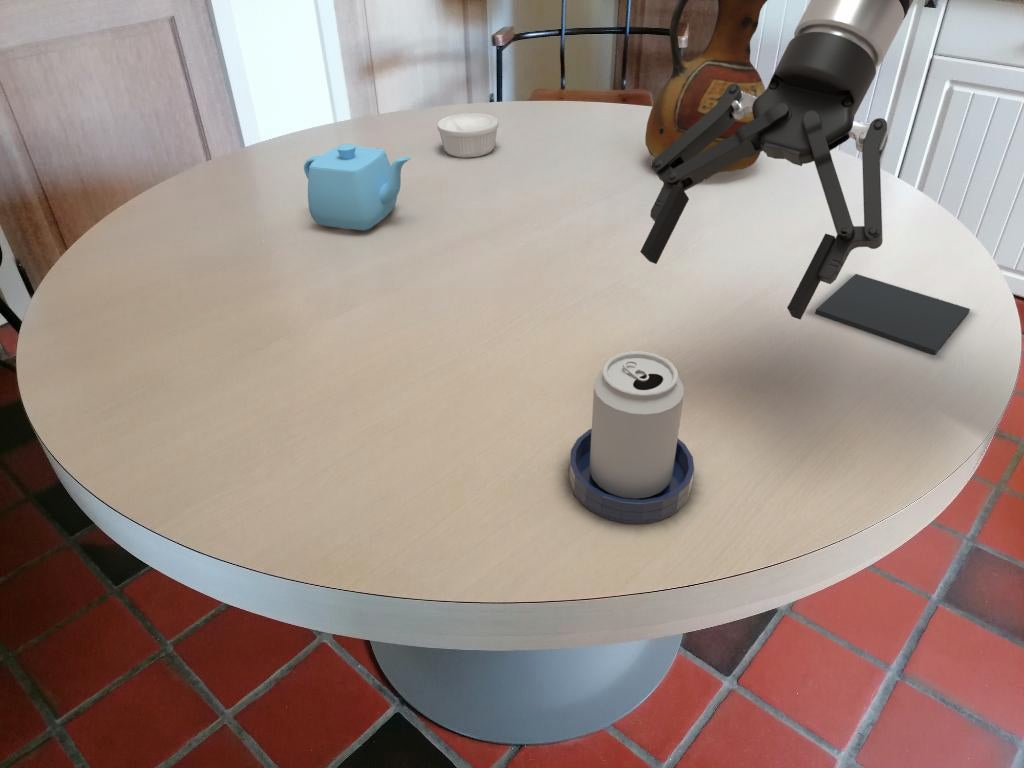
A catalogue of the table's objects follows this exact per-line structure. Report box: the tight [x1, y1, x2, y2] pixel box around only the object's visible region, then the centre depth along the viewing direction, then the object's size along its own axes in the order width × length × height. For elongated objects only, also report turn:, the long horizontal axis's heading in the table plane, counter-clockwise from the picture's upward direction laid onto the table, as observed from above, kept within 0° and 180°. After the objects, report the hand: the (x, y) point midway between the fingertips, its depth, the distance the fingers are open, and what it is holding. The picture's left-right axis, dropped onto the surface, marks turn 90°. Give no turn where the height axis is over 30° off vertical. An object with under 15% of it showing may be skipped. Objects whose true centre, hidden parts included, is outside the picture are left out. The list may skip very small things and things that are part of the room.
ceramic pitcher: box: [644, 0, 768, 173], centre depth 124 cm, size 20×20×30 cm
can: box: [589, 350, 685, 499], centre depth 65 cm, size 8×8×12 cm
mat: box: [814, 273, 971, 355], centre depth 92 cm, size 14×12×1 cm
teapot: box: [303, 143, 412, 232], centre depth 114 cm, size 12×18×12 cm
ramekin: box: [437, 112, 499, 159], centre depth 141 cm, size 11×11×5 cm
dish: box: [569, 428, 695, 525], centre depth 68 cm, size 11×11×2 cm
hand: (717, 285), depth 64 cm, fingers open, 13 cm apart
